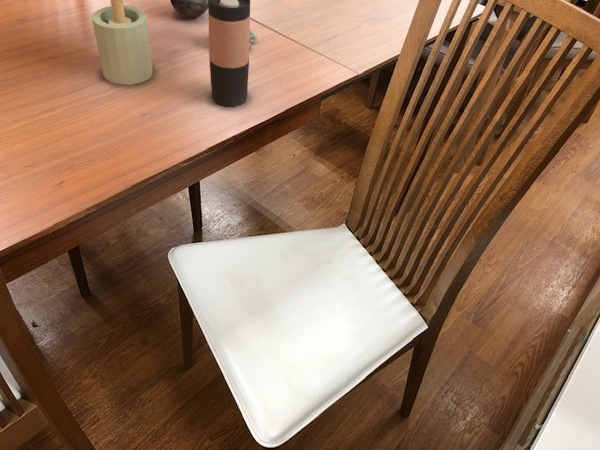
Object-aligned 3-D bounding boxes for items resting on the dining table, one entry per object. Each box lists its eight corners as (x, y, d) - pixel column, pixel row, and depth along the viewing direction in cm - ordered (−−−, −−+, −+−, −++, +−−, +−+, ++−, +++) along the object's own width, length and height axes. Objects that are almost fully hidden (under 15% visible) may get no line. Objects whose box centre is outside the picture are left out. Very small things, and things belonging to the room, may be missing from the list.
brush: (108, 50, 103) (88, -58, 88) (124, 42, 105) (107, -63, 91) (124, 57, 101) (107, -51, 87) (140, 49, 104) (126, -57, 90)
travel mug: (203, 93, 104) (199, -6, 90) (234, 84, 108) (234, -13, 94) (224, 111, 100) (223, 11, 86) (255, 100, 104) (259, 3, 90)
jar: (92, 73, 105) (80, 16, 97) (127, 56, 112) (119, 1, 103) (128, 90, 102) (119, 33, 94) (162, 71, 109) (156, 16, 100)
